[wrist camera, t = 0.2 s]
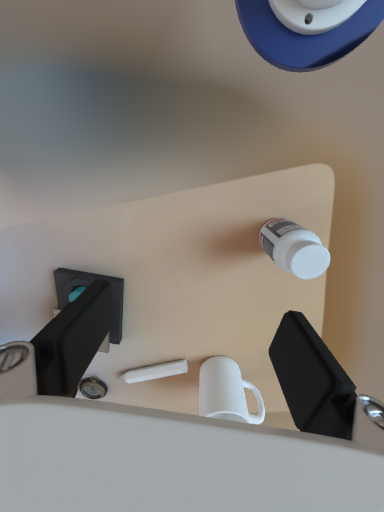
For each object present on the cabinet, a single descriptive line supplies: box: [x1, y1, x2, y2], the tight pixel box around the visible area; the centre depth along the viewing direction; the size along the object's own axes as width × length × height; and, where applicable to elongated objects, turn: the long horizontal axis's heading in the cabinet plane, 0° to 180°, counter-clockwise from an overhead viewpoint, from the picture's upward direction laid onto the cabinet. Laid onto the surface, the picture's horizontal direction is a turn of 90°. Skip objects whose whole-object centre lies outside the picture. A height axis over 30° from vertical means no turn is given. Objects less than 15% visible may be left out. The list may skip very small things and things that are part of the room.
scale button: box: [69, 286, 86, 302], centre depth 31 cm, size 3×3×2 cm
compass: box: [66, 376, 108, 400], centre depth 41 cm, size 8×8×7 cm
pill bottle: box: [259, 218, 330, 279], centre depth 24 cm, size 5×5×10 cm
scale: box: [54, 268, 124, 345], centre depth 34 cm, size 14×11×3 cm
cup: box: [199, 356, 265, 424], centre depth 36 cm, size 8×12×10 cm
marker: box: [117, 359, 188, 384], centre depth 41 cm, size 3×2×16 cm
